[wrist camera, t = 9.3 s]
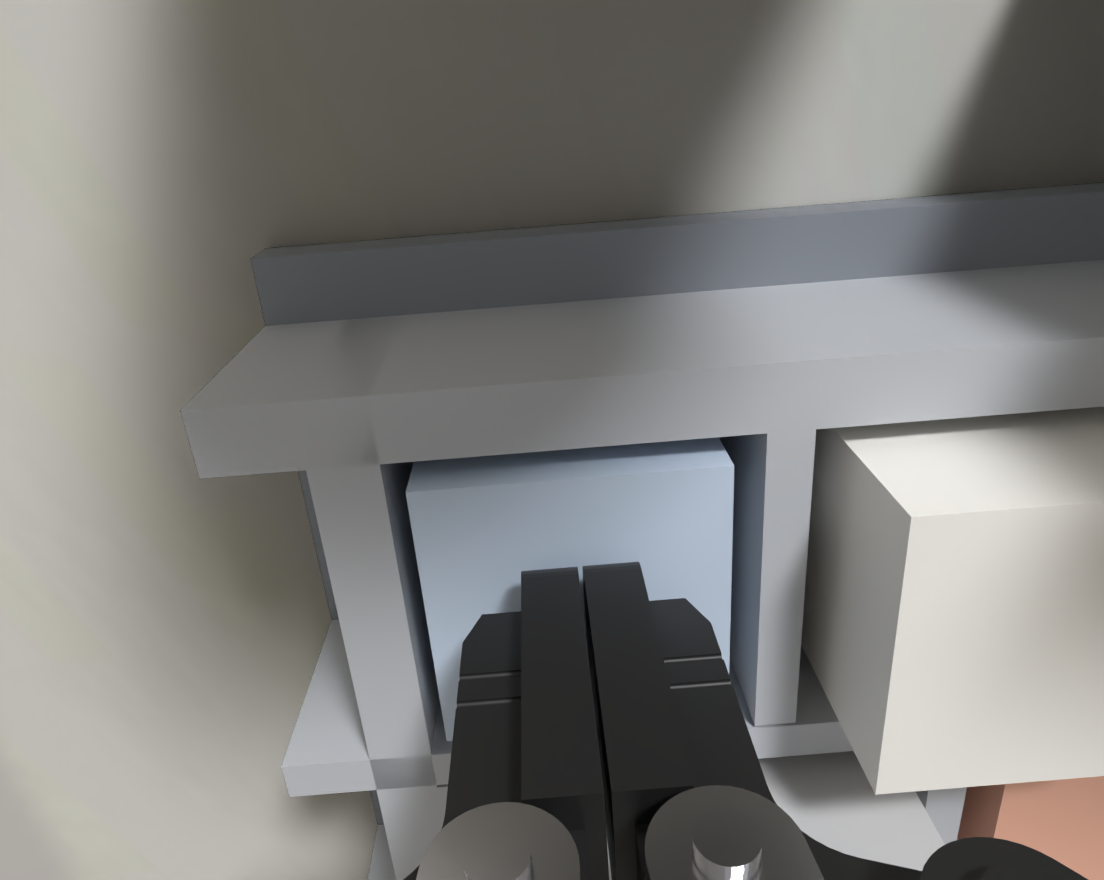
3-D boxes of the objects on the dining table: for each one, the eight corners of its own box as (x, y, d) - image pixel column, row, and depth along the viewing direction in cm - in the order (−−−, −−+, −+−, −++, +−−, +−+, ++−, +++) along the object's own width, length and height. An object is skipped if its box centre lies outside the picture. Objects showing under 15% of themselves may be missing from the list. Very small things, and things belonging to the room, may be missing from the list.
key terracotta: (1134, 624, 15) (1273, 749, 12) (1090, 784, 17) (1203, 925, 14) (918, 643, 15) (1008, 771, 12) (895, 800, 17) (969, 944, 14)
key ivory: (1102, 386, 11) (1291, 486, 8) (1050, 621, 13) (1193, 768, 10) (815, 408, 11) (911, 517, 8) (800, 641, 13) (875, 794, 10)
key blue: (687, 380, 13) (734, 466, 10) (688, 594, 14) (727, 717, 11) (430, 400, 13) (405, 492, 10) (460, 612, 14) (446, 741, 11)
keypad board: (1502, 150, 13) (1926, 183, 9) (1253, 785, 19) (1446, 972, 15) (265, 248, 13) (155, 323, 9) (396, 855, 19) (364, 1061, 15)
